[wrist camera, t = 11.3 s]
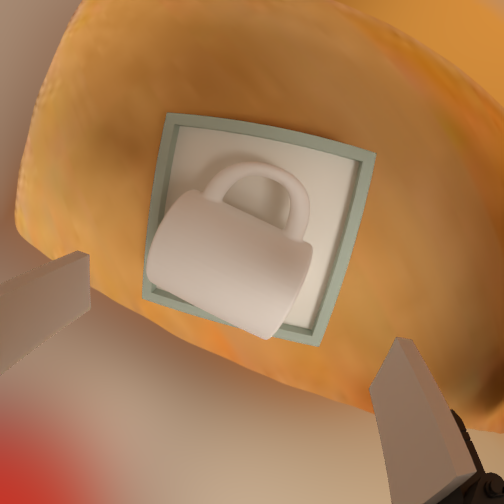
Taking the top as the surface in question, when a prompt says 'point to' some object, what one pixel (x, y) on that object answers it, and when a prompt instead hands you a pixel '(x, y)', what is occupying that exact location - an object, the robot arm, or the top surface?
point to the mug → (234, 252)
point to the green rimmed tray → (268, 201)
